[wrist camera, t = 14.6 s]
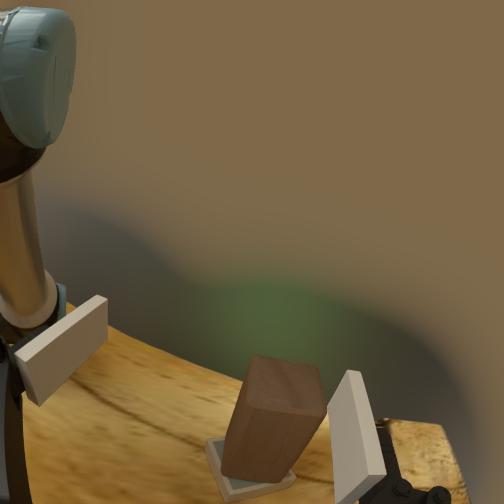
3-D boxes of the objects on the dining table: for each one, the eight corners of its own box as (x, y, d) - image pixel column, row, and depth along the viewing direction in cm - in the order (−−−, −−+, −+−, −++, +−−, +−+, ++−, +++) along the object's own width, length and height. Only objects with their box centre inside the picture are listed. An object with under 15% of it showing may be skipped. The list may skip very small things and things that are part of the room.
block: (279, 442, 44) (320, 363, 39) (280, 486, 35) (331, 412, 29) (225, 433, 44) (252, 350, 39) (218, 477, 34) (247, 400, 29)
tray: (203, 450, 43) (206, 438, 42) (262, 441, 48) (268, 429, 47) (225, 503, 33) (230, 494, 32) (289, 487, 38) (297, 477, 37)
